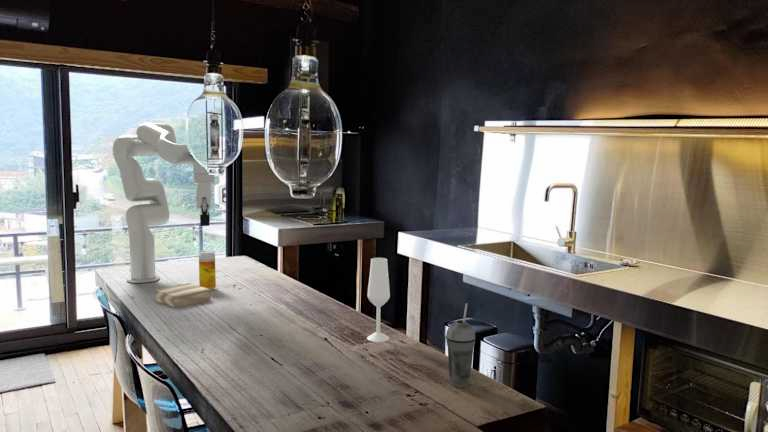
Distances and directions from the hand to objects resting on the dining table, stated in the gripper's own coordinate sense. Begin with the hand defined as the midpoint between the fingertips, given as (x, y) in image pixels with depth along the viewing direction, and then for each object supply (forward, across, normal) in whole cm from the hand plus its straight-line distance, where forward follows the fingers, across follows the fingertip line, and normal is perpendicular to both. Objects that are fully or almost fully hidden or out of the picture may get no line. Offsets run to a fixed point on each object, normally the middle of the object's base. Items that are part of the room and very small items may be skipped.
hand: (205, 223), depth 215 cm
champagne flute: (+27, +64, +50) cm, 86 cm away
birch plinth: (+27, +7, -8) cm, 29 cm away
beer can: (+27, -7, 0) cm, 28 cm away
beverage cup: (+27, +101, +60) cm, 120 cm away
